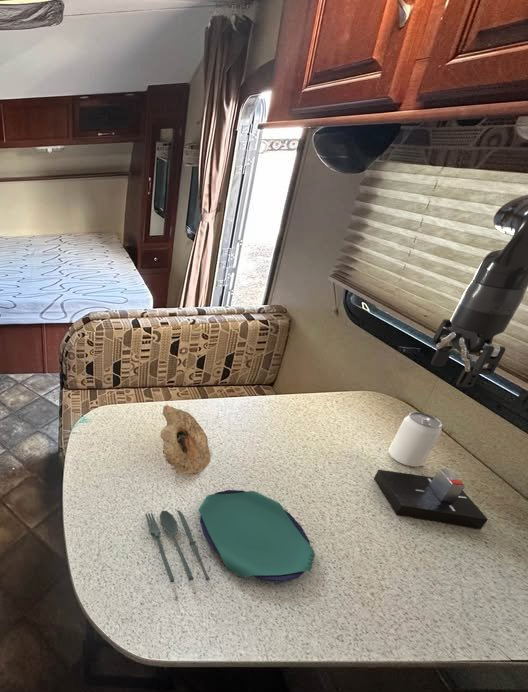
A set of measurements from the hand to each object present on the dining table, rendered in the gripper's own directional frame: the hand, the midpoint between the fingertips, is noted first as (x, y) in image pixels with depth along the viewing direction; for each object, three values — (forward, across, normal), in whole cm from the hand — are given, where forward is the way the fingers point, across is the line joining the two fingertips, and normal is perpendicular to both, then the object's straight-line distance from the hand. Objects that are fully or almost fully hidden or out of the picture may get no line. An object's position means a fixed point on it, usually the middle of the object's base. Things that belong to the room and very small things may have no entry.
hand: (449, 375), depth 80 cm
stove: (+24, -14, +3) cm, 28 cm away
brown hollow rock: (+24, -10, +52) cm, 58 cm away
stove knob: (+21, -14, +1) cm, 25 cm away
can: (+24, 0, 0) cm, 24 cm away
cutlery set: (+24, -33, +45) cm, 61 cm away
